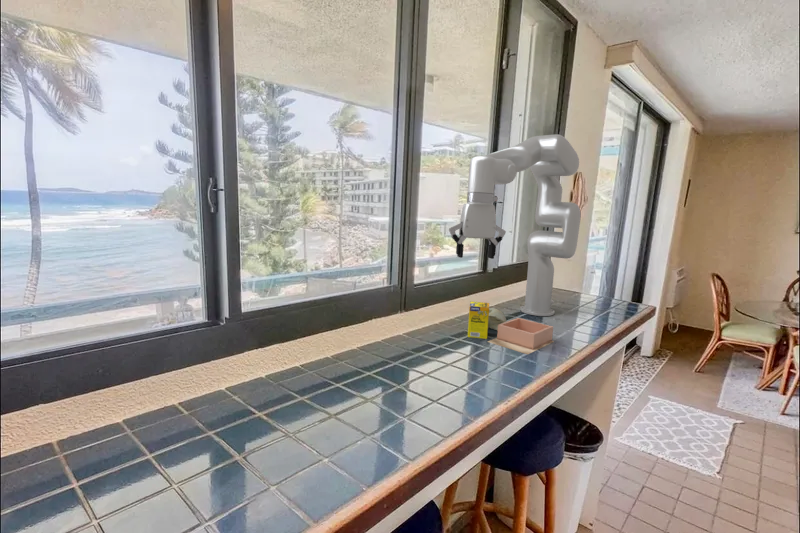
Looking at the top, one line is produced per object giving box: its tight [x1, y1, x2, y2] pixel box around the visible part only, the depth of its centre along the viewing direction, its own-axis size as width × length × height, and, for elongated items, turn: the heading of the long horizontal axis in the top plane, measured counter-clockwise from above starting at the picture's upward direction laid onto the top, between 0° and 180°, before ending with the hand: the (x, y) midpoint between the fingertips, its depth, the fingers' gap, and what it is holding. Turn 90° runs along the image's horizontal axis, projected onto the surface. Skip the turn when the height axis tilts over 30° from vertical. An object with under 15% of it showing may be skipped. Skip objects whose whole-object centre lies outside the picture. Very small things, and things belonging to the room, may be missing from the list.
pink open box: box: [496, 317, 554, 350], centre depth 121 cm, size 12×12×4 cm
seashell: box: [488, 307, 507, 332], centre depth 134 cm, size 13×8×10 cm
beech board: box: [487, 337, 555, 355], centre depth 120 cm, size 16×13×1 cm
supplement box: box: [467, 301, 490, 340], centre depth 124 cm, size 6×6×11 cm
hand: (475, 257), depth 121 cm, fingers open, 9 cm apart
